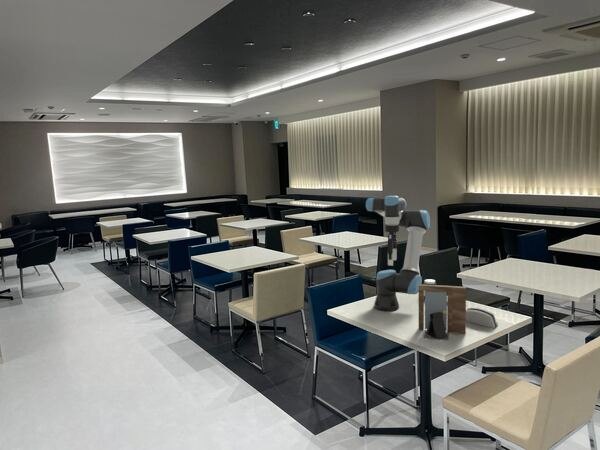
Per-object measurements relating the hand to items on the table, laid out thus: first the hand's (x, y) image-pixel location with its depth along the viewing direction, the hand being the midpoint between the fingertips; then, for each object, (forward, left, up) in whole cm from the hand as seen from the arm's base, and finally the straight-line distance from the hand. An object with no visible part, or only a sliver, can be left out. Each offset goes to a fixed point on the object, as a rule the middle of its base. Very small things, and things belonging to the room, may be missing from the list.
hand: (392, 262), depth 245 cm
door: (+6, +23, -34) cm, 42 cm away
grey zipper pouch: (-11, +46, -35) cm, 59 cm away
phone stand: (+13, +24, -35) cm, 44 cm away
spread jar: (-53, +17, -35) cm, 66 cm away
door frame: (+6, +26, -35) cm, 44 cm away
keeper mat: (+13, +24, -35) cm, 44 cm away
